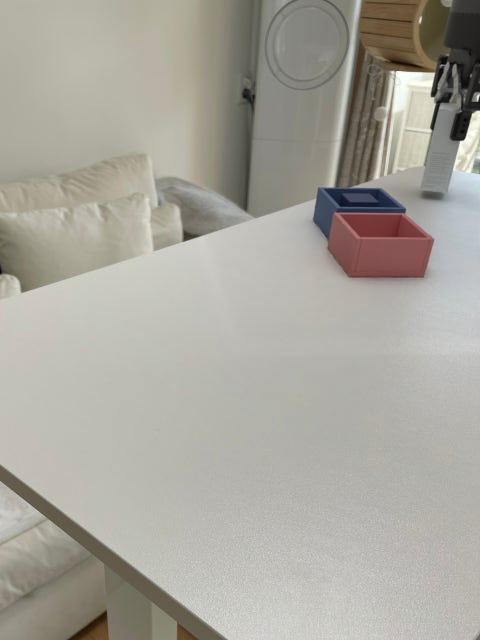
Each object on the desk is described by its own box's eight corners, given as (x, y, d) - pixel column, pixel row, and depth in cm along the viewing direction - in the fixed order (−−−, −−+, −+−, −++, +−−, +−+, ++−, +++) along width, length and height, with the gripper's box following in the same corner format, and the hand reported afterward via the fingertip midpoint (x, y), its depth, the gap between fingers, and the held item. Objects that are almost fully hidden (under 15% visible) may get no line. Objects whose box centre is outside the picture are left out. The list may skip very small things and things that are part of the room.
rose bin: (395, 248, 85) (404, 213, 83) (424, 277, 77) (434, 239, 75) (327, 247, 85) (333, 212, 82) (348, 276, 77) (356, 238, 74)
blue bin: (374, 220, 95) (381, 187, 92) (398, 243, 87) (406, 208, 84) (312, 219, 94) (318, 187, 92) (330, 243, 86) (337, 208, 84)
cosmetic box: (421, 181, 108) (440, 102, 102) (448, 184, 107) (469, 104, 100) (419, 190, 104) (438, 108, 97) (447, 193, 103) (469, 110, 96)
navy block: (363, 222, 92) (369, 193, 90) (372, 231, 89) (379, 202, 86) (336, 222, 92) (341, 193, 89) (344, 231, 88) (350, 201, 86)
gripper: (530, 12, 86) (491, 145, 95) (481, 7, 97) (450, 126, 107) (475, 11, 85) (441, 145, 95) (432, 6, 97) (406, 126, 107)
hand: (446, 135), depth 101 cm, fingers closed on cosmetic box, 7 cm apart
